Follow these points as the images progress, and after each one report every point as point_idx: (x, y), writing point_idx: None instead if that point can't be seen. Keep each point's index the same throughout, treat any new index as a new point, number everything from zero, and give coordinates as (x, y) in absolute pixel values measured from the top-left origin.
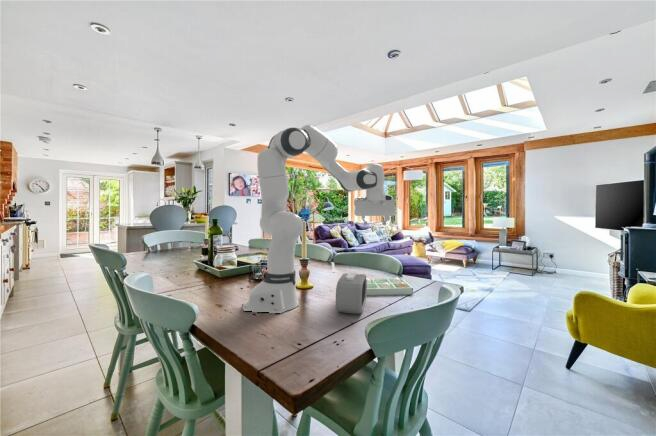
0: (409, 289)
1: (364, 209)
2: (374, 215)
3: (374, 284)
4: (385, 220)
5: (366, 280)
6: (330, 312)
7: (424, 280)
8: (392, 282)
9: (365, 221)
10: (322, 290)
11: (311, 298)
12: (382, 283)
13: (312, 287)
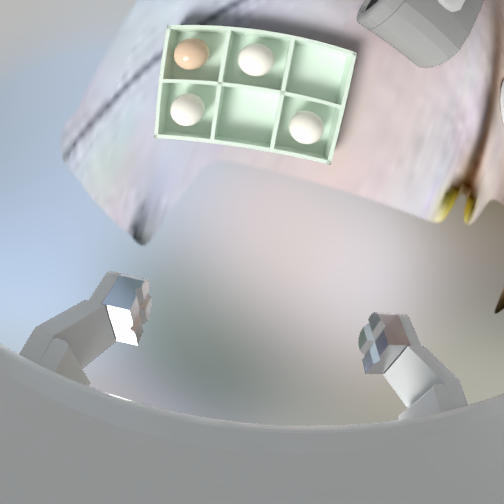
0: (181, 26)
1: (487, 494)
2: (301, 428)
3: (289, 92)
4: (90, 312)
5: (375, 3)
6: None
7: (82, 174)
8: (204, 108)
9: (410, 346)
10: (436, 156)
11: (474, 109)
12: (266, 66)
13: (447, 192)
